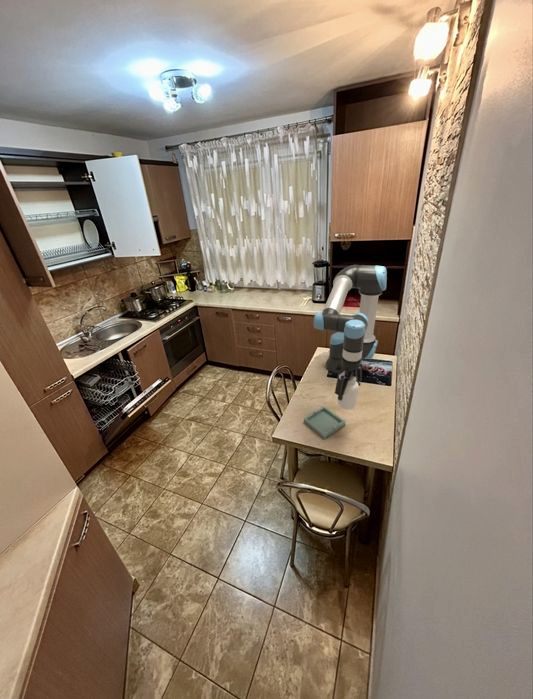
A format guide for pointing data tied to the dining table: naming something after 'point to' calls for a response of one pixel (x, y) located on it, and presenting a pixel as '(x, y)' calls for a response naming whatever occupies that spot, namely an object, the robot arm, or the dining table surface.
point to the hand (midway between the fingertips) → (347, 400)
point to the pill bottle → (350, 394)
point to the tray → (324, 422)
